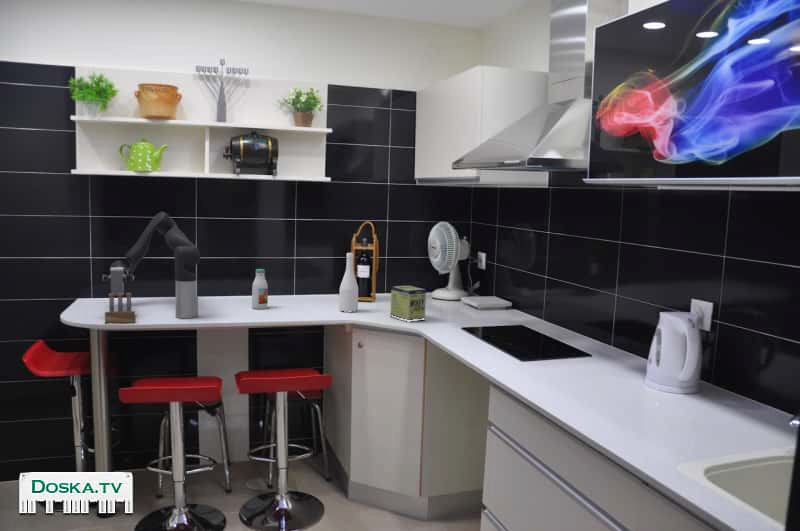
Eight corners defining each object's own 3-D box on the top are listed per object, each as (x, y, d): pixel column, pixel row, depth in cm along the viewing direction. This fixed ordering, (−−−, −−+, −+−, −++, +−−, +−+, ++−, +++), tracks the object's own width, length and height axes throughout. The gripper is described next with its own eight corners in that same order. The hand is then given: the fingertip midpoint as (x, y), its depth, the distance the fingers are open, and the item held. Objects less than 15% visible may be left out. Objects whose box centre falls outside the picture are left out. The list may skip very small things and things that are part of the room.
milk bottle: (252, 309, 330) (252, 270, 328) (251, 306, 338) (252, 268, 335) (268, 309, 333) (268, 270, 330) (266, 306, 340) (267, 268, 338)
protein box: (408, 322, 313) (409, 290, 311) (389, 317, 326) (390, 286, 324) (425, 320, 319) (427, 289, 318) (406, 315, 332) (407, 284, 330)
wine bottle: (354, 313, 331) (356, 254, 327) (336, 312, 332) (338, 253, 329) (359, 310, 340) (361, 252, 336) (342, 308, 342) (343, 251, 338)
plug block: (111, 294, 298) (111, 267, 297) (123, 293, 300) (123, 267, 299) (110, 295, 293) (110, 269, 292) (123, 295, 295) (122, 269, 294)
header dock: (108, 316, 301) (107, 289, 299) (136, 315, 305) (136, 288, 303) (105, 323, 286) (104, 295, 284) (134, 323, 290) (134, 294, 288)
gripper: (102, 267, 306) (99, 272, 291) (135, 267, 311) (134, 271, 295) (102, 283, 307) (99, 288, 291) (135, 282, 312) (134, 288, 296)
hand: (116, 280), depth 293 cm, fingers closed on plug block, 5 cm apart
